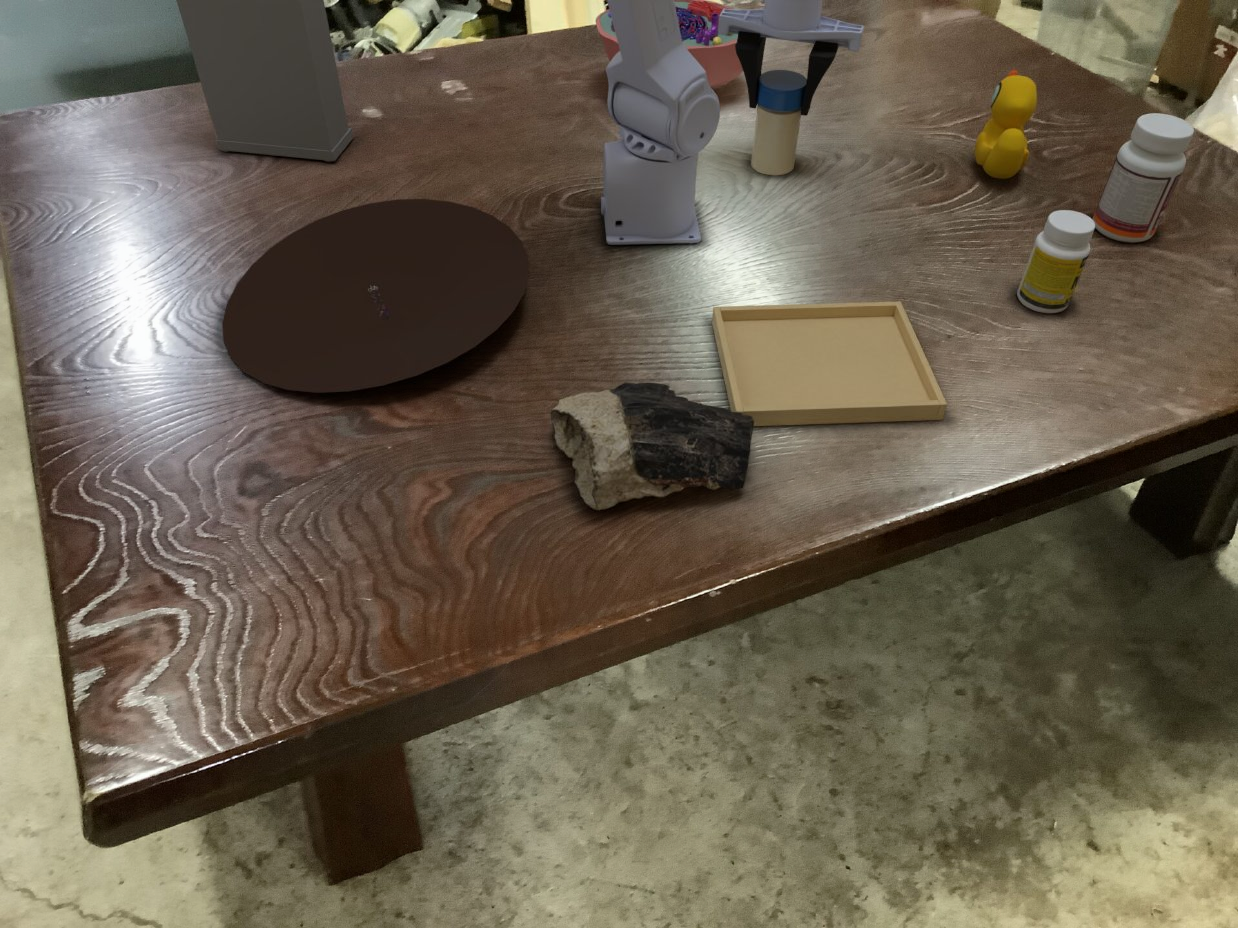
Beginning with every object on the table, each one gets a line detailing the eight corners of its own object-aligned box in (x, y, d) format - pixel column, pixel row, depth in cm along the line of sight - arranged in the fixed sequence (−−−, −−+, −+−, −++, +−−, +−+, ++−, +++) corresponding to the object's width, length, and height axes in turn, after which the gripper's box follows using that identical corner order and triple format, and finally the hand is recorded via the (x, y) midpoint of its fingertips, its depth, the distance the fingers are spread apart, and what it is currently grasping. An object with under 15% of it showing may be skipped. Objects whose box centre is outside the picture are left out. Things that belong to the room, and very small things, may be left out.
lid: (808, 111, 103) (811, 90, 102) (760, 112, 103) (763, 91, 101) (799, 90, 107) (802, 69, 105) (753, 91, 107) (755, 70, 105)
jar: (754, 176, 109) (764, 97, 102) (747, 155, 112) (756, 77, 106) (797, 175, 109) (809, 96, 102) (789, 154, 112) (799, 76, 106)
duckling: (967, 142, 115) (991, 57, 108) (1015, 147, 114) (1042, 61, 107) (972, 190, 107) (998, 101, 100) (1023, 195, 106) (1053, 106, 99)
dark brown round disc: (204, 260, 96) (193, 227, 93) (479, 204, 104) (476, 172, 101) (247, 442, 77) (234, 407, 75) (576, 357, 86) (575, 323, 83)
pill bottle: (1125, 209, 104) (1168, 106, 96) (1166, 238, 100) (1215, 134, 92) (1077, 219, 103) (1117, 115, 95) (1118, 249, 99) (1162, 144, 91)
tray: (734, 427, 79) (736, 411, 78) (711, 321, 89) (713, 306, 88) (942, 419, 80) (947, 404, 79) (897, 316, 90) (900, 301, 89)
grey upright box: (354, 138, 114) (309, -102, 96) (335, 163, 110) (283, -83, 92) (243, 128, 115) (178, -110, 98) (219, 152, 111) (146, -92, 94)
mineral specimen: (535, 365, 75) (715, 316, 78) (547, 435, 80) (715, 386, 83) (587, 472, 66) (788, 412, 69) (596, 543, 71) (783, 485, 74)
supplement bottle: (1071, 318, 90) (1103, 238, 84) (1018, 311, 91) (1046, 232, 85) (1065, 288, 94) (1096, 210, 88) (1013, 282, 94) (1041, 204, 88)
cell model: (759, 121, 118) (770, 25, 110) (593, 118, 118) (592, 22, 110) (748, 63, 130) (757, -28, 122) (597, 61, 130) (597, -30, 122)
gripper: (876, -31, 97) (852, 101, 107) (733, -47, 100) (722, 84, 110) (867, -7, 93) (843, 130, 102) (718, -24, 95) (707, 110, 105)
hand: (779, 108), depth 106 cm, fingers closed on lid, 5 cm apart
